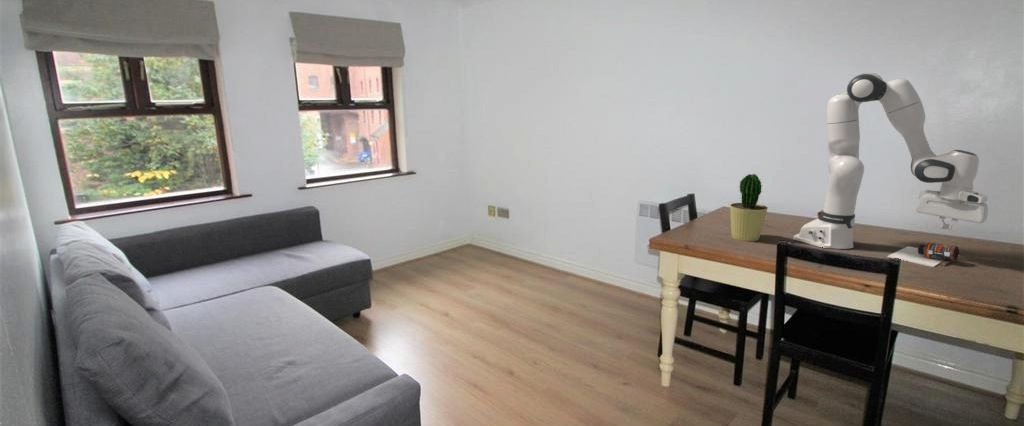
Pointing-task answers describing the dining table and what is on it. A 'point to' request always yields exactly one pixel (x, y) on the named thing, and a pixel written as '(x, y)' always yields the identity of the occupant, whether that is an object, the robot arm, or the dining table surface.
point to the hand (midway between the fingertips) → (945, 228)
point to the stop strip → (944, 262)
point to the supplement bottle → (939, 251)
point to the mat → (915, 257)
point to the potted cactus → (748, 211)
